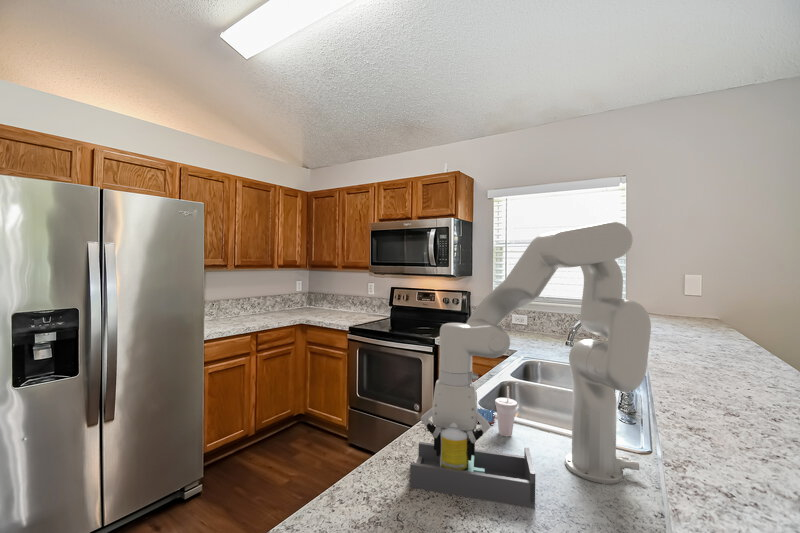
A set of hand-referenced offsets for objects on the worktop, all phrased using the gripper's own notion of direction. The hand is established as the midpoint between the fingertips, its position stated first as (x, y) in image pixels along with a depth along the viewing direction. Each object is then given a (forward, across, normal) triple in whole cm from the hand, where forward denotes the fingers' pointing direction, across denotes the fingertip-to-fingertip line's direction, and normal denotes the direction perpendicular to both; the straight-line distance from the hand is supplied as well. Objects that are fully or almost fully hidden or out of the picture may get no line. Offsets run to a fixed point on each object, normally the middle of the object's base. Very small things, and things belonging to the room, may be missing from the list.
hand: (454, 454), depth 81 cm
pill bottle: (+3, 0, 0) cm, 3 cm away
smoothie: (+6, -13, -28) cm, 31 cm away
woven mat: (+7, -5, -38) cm, 39 cm away
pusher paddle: (+4, -5, 0) cm, 7 cm away
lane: (+6, -4, 0) cm, 7 cm away
